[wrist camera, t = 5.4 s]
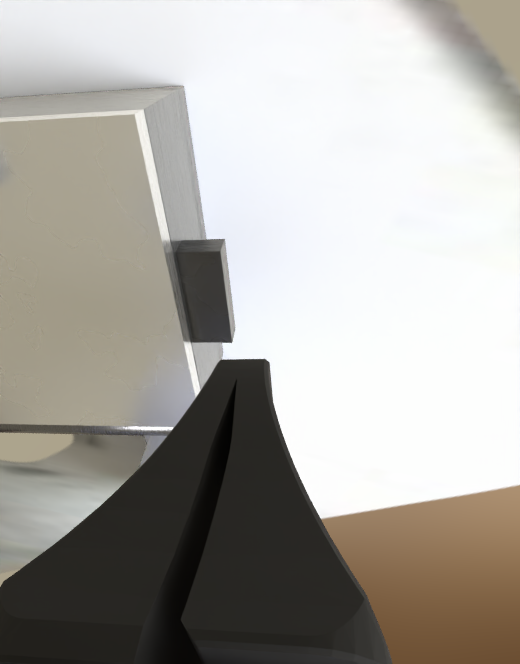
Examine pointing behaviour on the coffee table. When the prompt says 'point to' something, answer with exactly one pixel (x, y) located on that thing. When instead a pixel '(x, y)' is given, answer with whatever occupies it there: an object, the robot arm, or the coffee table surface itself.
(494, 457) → the coffee table surface
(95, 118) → the lid
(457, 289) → the coffee table surface
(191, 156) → the cooker pot
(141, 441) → the coffee table surface
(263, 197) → the coffee table surface
